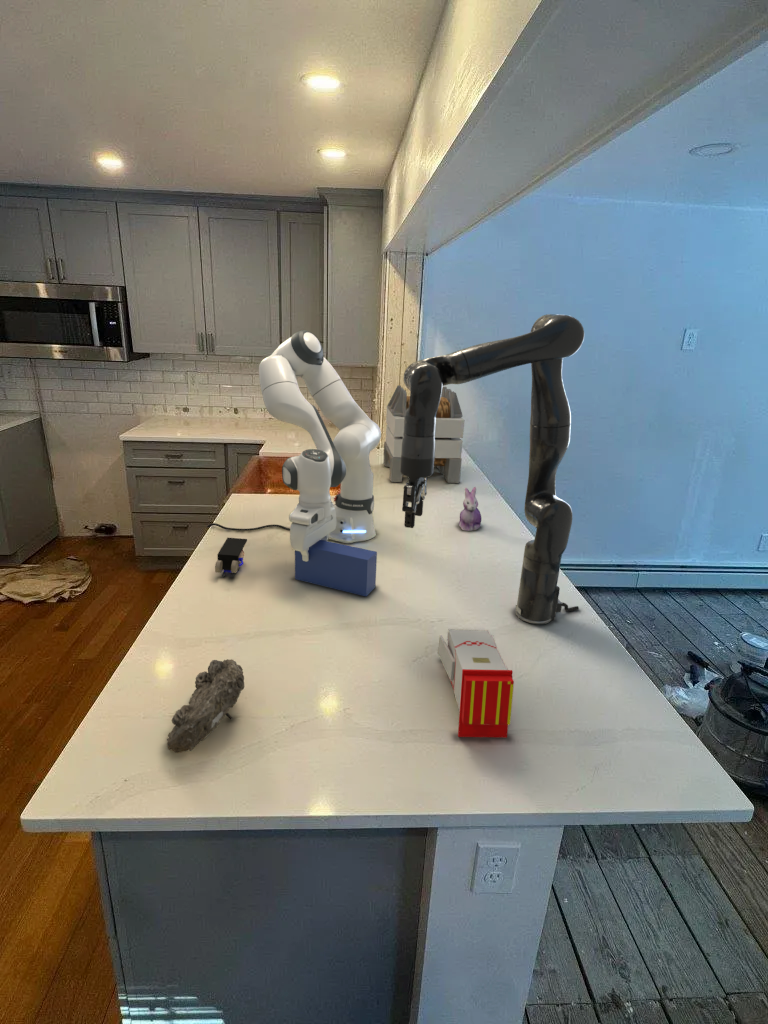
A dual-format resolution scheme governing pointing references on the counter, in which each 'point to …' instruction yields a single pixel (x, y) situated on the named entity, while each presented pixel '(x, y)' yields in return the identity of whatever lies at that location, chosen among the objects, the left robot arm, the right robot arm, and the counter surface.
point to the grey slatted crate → (445, 435)
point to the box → (338, 567)
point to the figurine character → (230, 556)
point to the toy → (478, 682)
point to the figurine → (470, 512)
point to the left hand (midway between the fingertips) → (314, 554)
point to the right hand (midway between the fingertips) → (413, 521)
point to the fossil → (206, 705)
